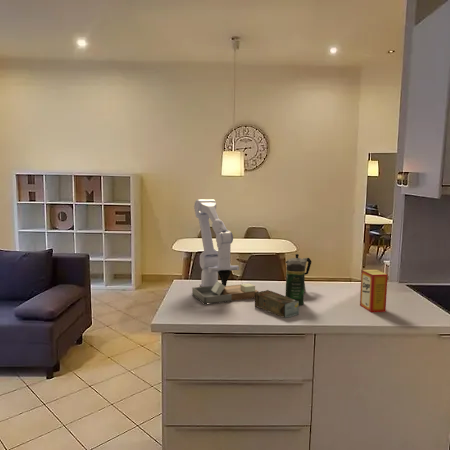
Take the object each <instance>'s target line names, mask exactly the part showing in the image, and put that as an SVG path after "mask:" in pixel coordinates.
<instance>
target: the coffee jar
mask: <svg viewBox="0 0 450 450" xmlns="http://www.w3.org/2000/svg"><path fill="white" fill-rule="evenodd" d="M285 264H286V266H285V267H286V269H285V271H286V274H285V275H286V276H285V295H284V296H286V297H289V298H292V299H294V300H297V301H299V306H302V305H304V302H305V301H304V299H305V296H304V295H305V292H304V282H305V277H306V275H305V273H306V268H305V265H304V264H303V263H302V262H300V261H292V260H291V261H290V262H288V263H285Z"/></svg>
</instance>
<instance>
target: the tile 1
mask: <svg viewBox="0 0 450 450" xmlns="http://www.w3.org/2000/svg"><path fill="white" fill-rule="evenodd" d="M224 288H225V286H224V285H223V284H222V282H219V280H218V281H217V282H216V283H215V285H214V286H213V288H212V289H211V291H213V292H214V293H216V294H217V295H220V294H221V292H222V291H223V289H224Z"/></svg>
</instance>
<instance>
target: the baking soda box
mask: <svg viewBox="0 0 450 450" xmlns="http://www.w3.org/2000/svg"><path fill="white" fill-rule="evenodd" d="M360 272H361V275H360V296H359V306H360V307H362V308H363V309H364V310H366V311H367V312H370V313H385V312H386V311H387V290H388V274H387V273H385V272H384V271H381V270H379V269H361V271H360Z"/></svg>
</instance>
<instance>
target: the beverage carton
mask: <svg viewBox="0 0 450 450" xmlns="http://www.w3.org/2000/svg"><path fill="white" fill-rule="evenodd" d="M254 306H255V307H257V308H260V309H262V310H263V311H264V310H265V311H267V312H269V313H271V314H273V315H277V316H280V317H283V319H286V318H291V317H294V316H298V315H299V311H300V305H299V301H297V300H294V299H292V298H289V297H286V296H285V295H283V294H280V293H277V292H275V291H272V290H269V289H267V290H262V291H259V292H257V293H255V298H254Z"/></svg>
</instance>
